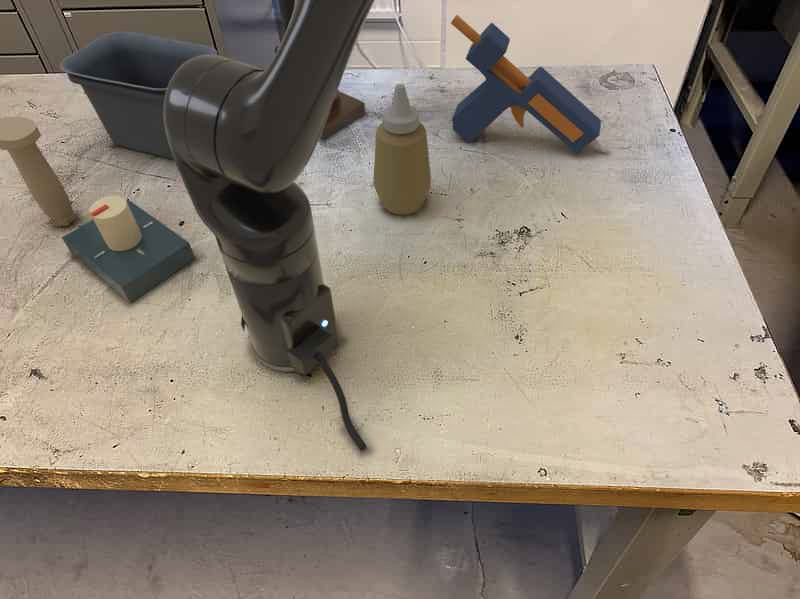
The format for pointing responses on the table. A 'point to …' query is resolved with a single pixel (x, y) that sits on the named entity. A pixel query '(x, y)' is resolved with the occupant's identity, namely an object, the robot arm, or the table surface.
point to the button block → (342, 114)
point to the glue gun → (519, 95)
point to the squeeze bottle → (401, 157)
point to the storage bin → (131, 84)
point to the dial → (116, 223)
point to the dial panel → (132, 255)
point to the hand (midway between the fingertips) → (317, 91)
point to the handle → (35, 169)
